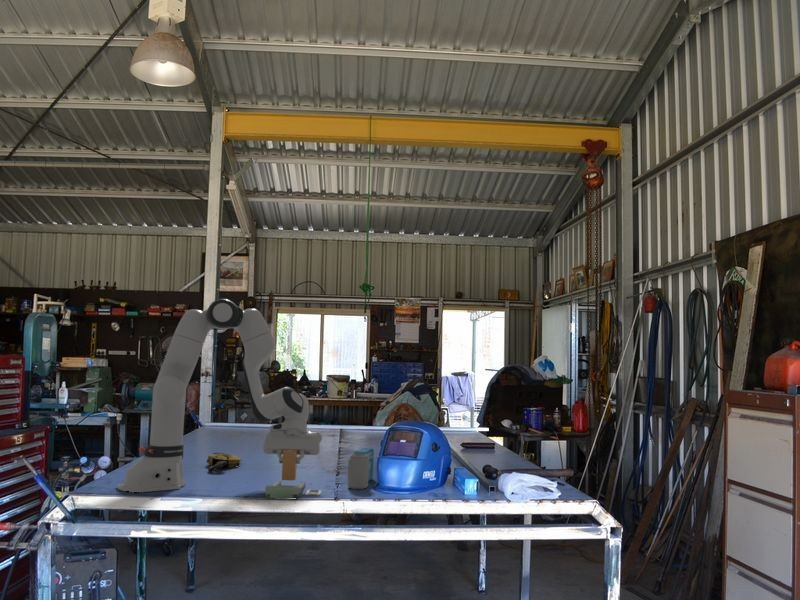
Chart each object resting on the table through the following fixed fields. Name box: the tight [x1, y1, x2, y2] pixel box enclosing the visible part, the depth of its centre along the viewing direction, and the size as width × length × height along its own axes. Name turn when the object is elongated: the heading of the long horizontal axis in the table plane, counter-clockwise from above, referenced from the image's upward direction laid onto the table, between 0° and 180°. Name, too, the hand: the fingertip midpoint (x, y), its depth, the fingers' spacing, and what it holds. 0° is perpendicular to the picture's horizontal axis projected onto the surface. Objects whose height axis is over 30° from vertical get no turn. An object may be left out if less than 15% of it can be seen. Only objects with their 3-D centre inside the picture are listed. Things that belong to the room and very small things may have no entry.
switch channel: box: [264, 480, 323, 500], centre depth 231 cm, size 24×17×4 cm
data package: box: [353, 447, 375, 482], centre depth 257 cm, size 12×4×12 cm, turn 166°
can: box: [347, 453, 369, 490], centre depth 242 cm, size 8×8×12 cm
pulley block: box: [206, 452, 242, 472], centre depth 277 cm, size 14×6×30 cm
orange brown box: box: [281, 450, 298, 481], centre depth 236 cm, size 4×4×10 cm
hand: (289, 462), depth 236 cm, fingers closed on orange brown box, 4 cm apart
